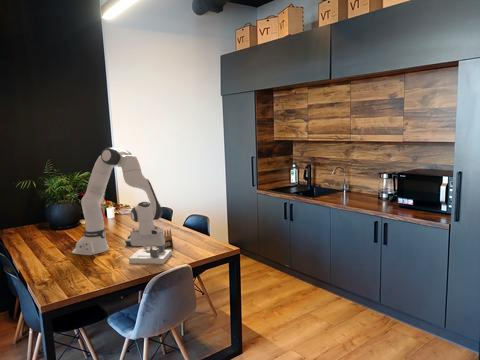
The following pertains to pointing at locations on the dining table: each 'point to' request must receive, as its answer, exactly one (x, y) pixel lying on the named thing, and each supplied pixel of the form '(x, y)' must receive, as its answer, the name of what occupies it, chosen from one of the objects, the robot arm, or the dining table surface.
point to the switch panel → (145, 257)
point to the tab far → (161, 248)
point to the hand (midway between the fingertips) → (148, 252)
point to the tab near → (154, 252)
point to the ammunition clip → (168, 239)
